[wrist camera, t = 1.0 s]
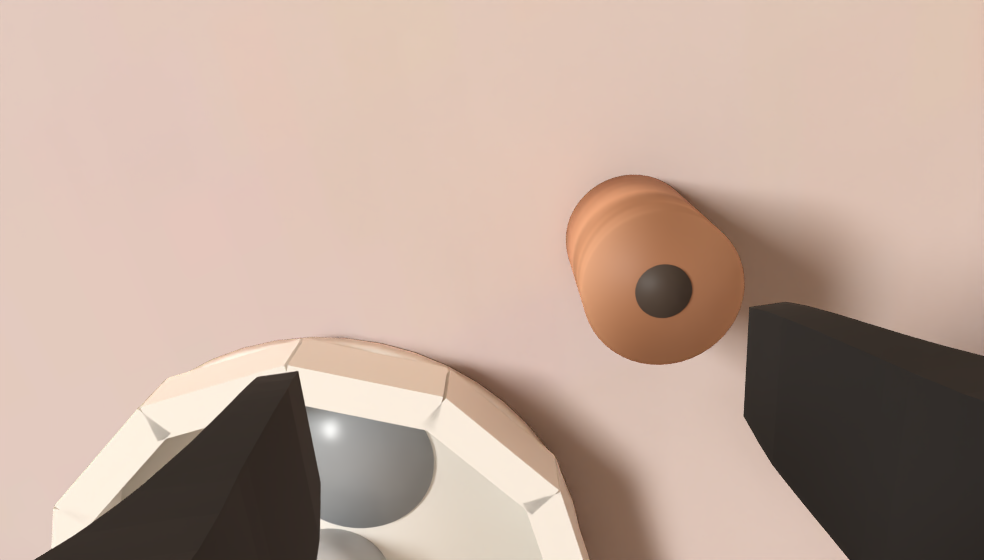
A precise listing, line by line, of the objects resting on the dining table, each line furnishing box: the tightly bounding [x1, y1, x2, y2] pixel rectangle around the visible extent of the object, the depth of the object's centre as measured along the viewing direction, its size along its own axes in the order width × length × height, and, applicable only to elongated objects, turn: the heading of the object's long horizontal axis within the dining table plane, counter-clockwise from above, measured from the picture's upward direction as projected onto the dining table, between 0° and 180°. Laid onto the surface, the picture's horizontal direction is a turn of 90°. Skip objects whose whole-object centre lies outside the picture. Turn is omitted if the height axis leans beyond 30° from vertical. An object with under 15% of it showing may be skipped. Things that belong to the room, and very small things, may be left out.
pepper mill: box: [566, 175, 744, 365], centre depth 21 cm, size 4×4×5 cm
